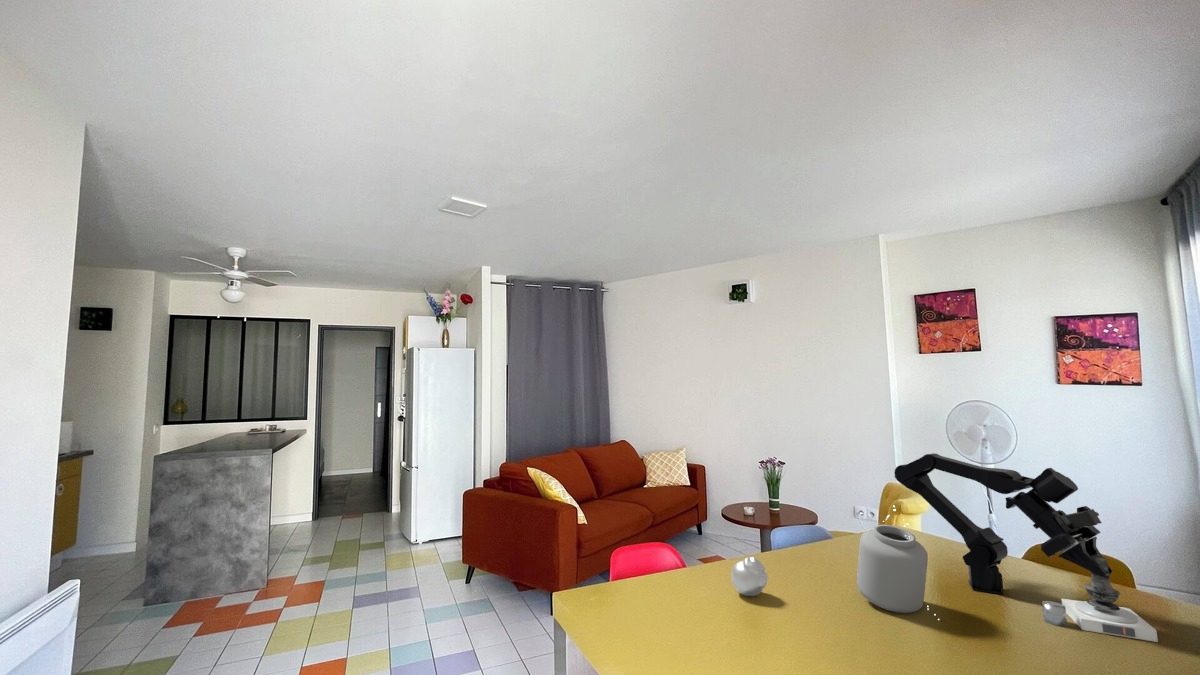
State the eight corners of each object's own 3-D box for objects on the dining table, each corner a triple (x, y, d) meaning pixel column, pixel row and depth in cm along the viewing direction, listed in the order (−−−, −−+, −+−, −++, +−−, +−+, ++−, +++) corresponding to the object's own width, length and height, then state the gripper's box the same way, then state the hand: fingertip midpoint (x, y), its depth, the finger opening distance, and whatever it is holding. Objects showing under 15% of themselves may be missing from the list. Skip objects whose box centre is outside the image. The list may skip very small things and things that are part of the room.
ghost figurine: (749, 605, 123) (747, 564, 125) (725, 591, 132) (723, 553, 133) (776, 599, 127) (774, 559, 128) (751, 586, 136) (749, 548, 137)
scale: (1083, 631, 109) (1081, 616, 109) (1062, 608, 120) (1061, 596, 120) (1159, 643, 103) (1157, 628, 103) (1130, 618, 114) (1128, 605, 114)
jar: (955, 621, 114) (945, 511, 117) (900, 627, 111) (892, 514, 114) (893, 589, 132) (886, 495, 135) (845, 594, 129) (838, 497, 132)
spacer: (1047, 624, 112) (1045, 606, 112) (1041, 617, 115) (1039, 599, 116) (1070, 628, 110) (1068, 609, 111) (1063, 620, 114) (1061, 602, 114)
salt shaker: (1120, 613, 108) (1114, 557, 109) (1083, 604, 113) (1078, 550, 114) (1123, 606, 112) (1117, 552, 113) (1087, 597, 116) (1082, 545, 118)
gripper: (1053, 499, 114) (1126, 563, 103) (1085, 491, 123) (1154, 549, 112) (1015, 526, 120) (1079, 589, 109) (1047, 516, 129) (1110, 573, 118)
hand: (1107, 574), depth 112 cm, fingers closed on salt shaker, 4 cm apart
